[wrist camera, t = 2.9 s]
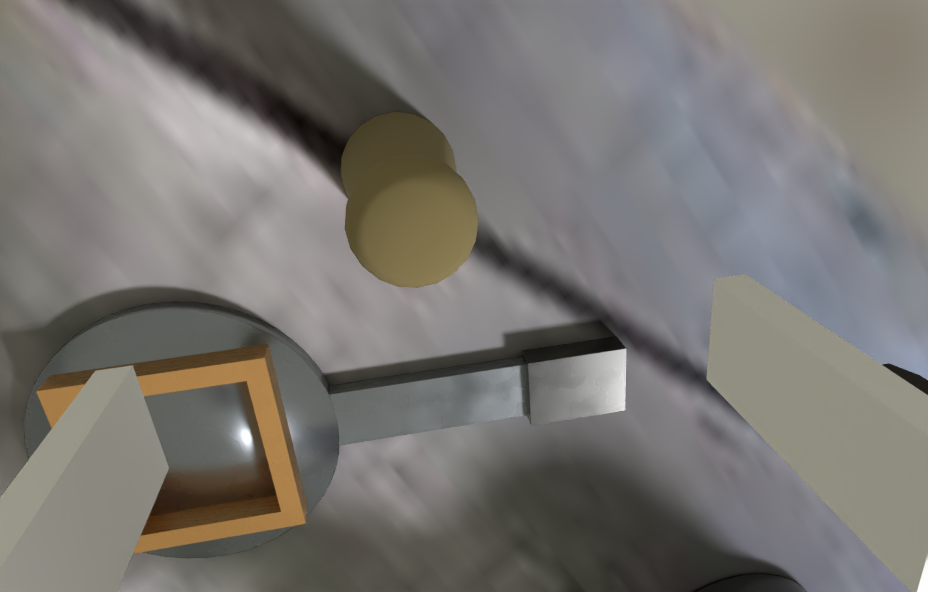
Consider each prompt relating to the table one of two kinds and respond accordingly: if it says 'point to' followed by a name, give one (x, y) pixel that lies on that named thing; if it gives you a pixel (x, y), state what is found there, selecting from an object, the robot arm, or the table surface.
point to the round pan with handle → (288, 413)
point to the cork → (406, 201)
